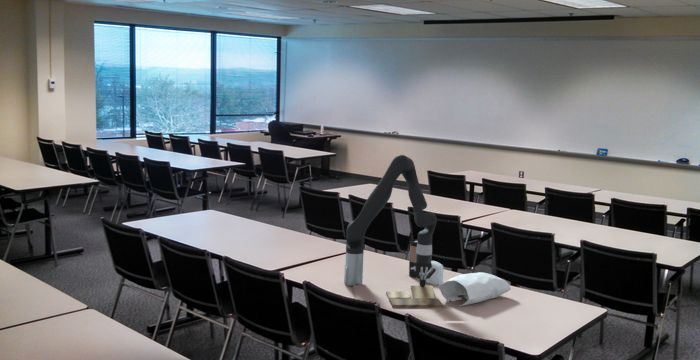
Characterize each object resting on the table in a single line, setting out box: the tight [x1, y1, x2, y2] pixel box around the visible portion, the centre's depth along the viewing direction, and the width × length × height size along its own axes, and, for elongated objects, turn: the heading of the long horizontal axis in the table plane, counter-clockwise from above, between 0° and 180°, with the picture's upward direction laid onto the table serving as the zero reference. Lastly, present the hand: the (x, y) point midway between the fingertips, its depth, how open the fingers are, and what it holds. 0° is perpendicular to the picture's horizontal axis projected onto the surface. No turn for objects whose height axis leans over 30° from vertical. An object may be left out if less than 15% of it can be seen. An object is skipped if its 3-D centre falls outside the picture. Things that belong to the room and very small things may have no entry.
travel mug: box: [408, 238, 419, 279], centre depth 350 cm, size 8×8×20 cm
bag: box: [438, 271, 511, 307], centre depth 316 cm, size 19×19×35 cm
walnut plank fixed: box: [388, 297, 444, 309], centre depth 303 cm, size 24×9×2 cm, turn 96°
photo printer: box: [426, 260, 444, 286], centre depth 338 cm, size 10×4×12 cm, turn 39°
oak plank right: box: [410, 285, 437, 298], centre depth 312 cm, size 11×9×2 cm
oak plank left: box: [385, 291, 413, 301], centre depth 312 cm, size 11×9×2 cm
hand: (422, 286), depth 315 cm, fingers closed
